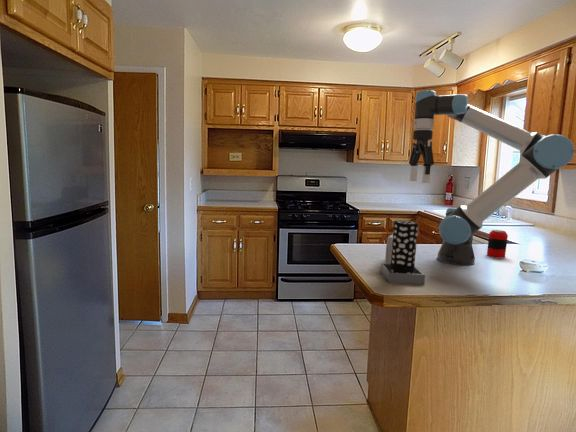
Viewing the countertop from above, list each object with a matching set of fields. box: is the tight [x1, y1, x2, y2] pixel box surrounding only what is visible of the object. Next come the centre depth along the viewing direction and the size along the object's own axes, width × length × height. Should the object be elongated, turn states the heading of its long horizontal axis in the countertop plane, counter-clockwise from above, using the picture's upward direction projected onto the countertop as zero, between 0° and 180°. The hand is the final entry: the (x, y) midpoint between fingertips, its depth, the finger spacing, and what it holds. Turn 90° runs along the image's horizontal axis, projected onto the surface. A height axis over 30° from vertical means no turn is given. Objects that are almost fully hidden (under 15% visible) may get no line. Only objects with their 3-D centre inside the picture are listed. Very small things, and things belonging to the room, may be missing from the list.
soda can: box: [486, 229, 509, 259], centre depth 178 cm, size 8×8×12 cm
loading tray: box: [379, 263, 426, 285], centre depth 139 cm, size 13×13×4 cm
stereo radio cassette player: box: [384, 232, 419, 264], centre depth 156 cm, size 21×8×20 cm, turn 150°
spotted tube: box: [390, 219, 419, 274], centre depth 137 cm, size 8×8×20 cm
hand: (419, 182), depth 158 cm, fingers open, 13 cm apart
